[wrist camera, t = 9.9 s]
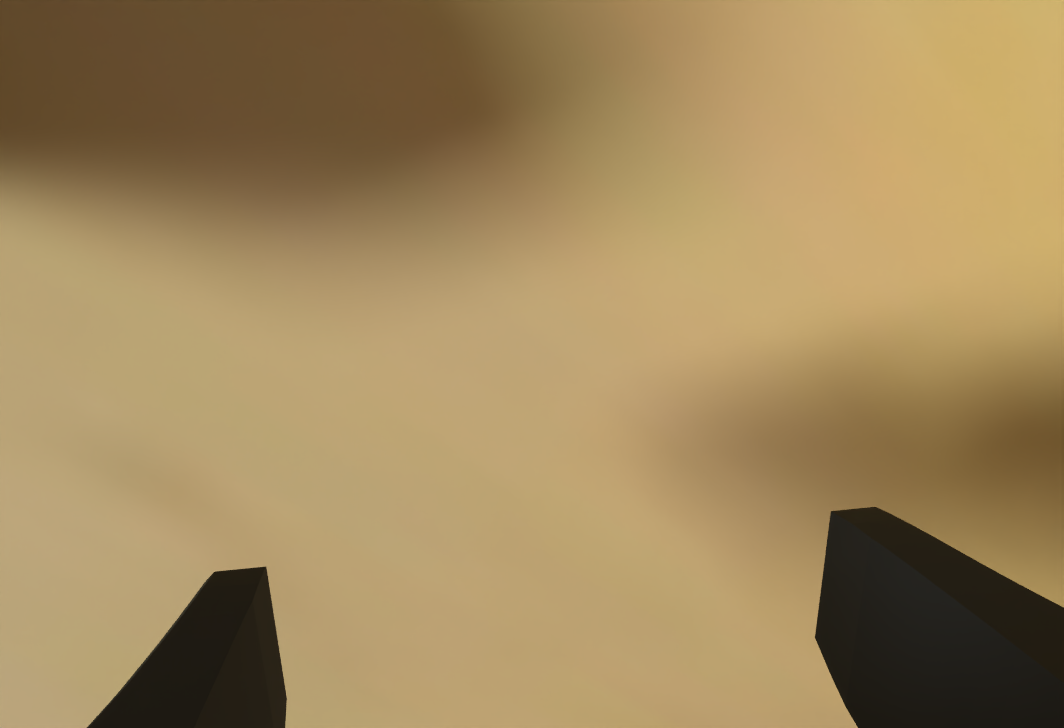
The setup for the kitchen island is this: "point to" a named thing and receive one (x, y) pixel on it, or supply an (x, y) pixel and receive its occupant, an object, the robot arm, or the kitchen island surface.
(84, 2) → the kitchen island surface
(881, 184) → the kitchen island surface
